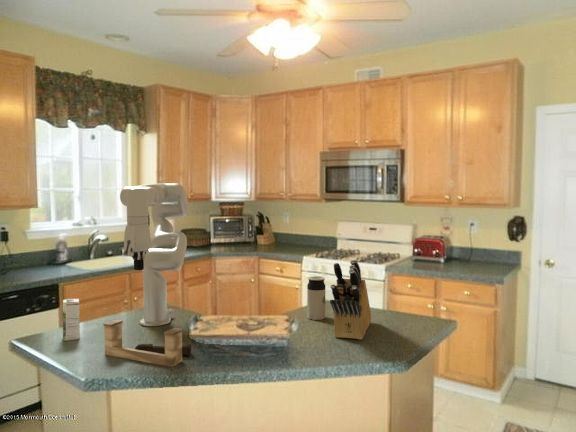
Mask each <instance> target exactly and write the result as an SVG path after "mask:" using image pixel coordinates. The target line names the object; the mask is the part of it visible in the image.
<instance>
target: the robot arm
mask: <svg viewBox="0 0 576 432" xmlns="http://www.w3.org/2000/svg"><path fill="white" fill-rule="evenodd" d="M119 200H120V203H121V204H122V205H123V206H125V207H126V225H125V229H124V234H123V235H124V238H123V250H124V251H125V252H126V254H127V256H129V257H131V258H132V260H133V270H135V271H142V281H143V282H142V288H143V292H142V293H143V295H142V296H143V297H142V298H143V318H141V319H140V320H139V324H140V325H141V326H144V327H160V326H164V325H168V324H169V323H170V322H171V321H172V319H171V317H169V315H170V314H173V312H174V310H173V309H172V308H169V309H168V303H167V302H168V301H167V300H168V297H167V296H168V295H167V294H168V293H167V291H168V290H167V289H168V287H167V279H166V277H165V275H164V274H163V273H162V272H176V271H180V270H181V269H182V267H183V265H184V261H185V258H186V257H185V256H186V252H187V246H188V240H187V239H188V238H187V235H186V234H185V233H184V232H181V231H174V226H173V224H172V223H171V222H170V221H169V220H168V219H167V218H185V217H187V216H188V215H189V213H190V204H189V201H188V196H187V192H186V190H185V188H184V186H183V185H182V184H181V183H176V182H173V183H172V182H170V183H167V182H166V183H165V182H163V183H162V182H160V183H159V182H158V183H152V184H151V183H149V184H142V185H133V186H132V185H131V186H130V185H129V186H124V187H123V188H122V189H121V191H120V193H119ZM149 207H150V211H151V212H150V213H151V219H152V222H153V227H154V228H153V231H152V234H151V230H150V225H149Z"/></svg>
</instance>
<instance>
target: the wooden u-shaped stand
mask: <svg viewBox="0 0 576 432" xmlns="http://www.w3.org/2000/svg"><path fill="white" fill-rule="evenodd" d="M123 321H124V320H122V319H113V320H110V321H107V322H104V323H103V327H104V330H103V331H104V355H105V356H109V357H115V358H119V359H121V358H122V359H127V360H133V361H138V362H142V363H148V364H154V365H160V366H165V367H170V366H171V368H173V366H174V367H176V366H177V365H178V363H179V364H180V362H181V363H183V356H182V345H183V331H184V329H183V328H178V327H173V328H170V329H168V330H166V331H164V332H163V335H164V346H165V354H160V353H154V352H148V351H142V350H136V349H135V348H128V347H123Z"/></svg>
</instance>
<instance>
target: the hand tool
mask: <svg viewBox="0 0 576 432" xmlns="http://www.w3.org/2000/svg"><path fill="white" fill-rule="evenodd" d="M134 349H136V350H142V351H148V352H154V353H160V354H165V345H153V343H141V344H137V345H136V346H135V348H134ZM191 353H192V344H191V343H188V344H182V357H183V356H187V357H189V356H190V357H191V355H192V354H191Z"/></svg>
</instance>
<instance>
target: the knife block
mask: <svg viewBox="0 0 576 432" xmlns="http://www.w3.org/2000/svg"><path fill="white" fill-rule="evenodd" d="M349 264H351V265H349V270H348V273H349V274H348V275H349V278H344V277H343V273H342V272H343V271H342V268H341V265H340V264H339V263H337V262H336V263H333V271H334V275H335V277H336V284H331V285H330V289H331V292H332V294H331V295H332V297H333V299H330V300H329V302H330V305H331V307H332V311H333V321H334V322H333V328H334V331H333V332H334V335H333V336H334V337H335V338H337V339H338V338H340V339H341V338H345V339H354V340H355V339H356V340H363V339H364V336H365V335H366V333H367V330H368V328H369V326H370V324H371V322H372V321H371V320H372V313H371V307H370V299H369V294H368V289H367V283H366V279H362V273H361V267H360V264H359V262H358V261H357V260H356V259H351V260H350V263H349Z"/></svg>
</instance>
